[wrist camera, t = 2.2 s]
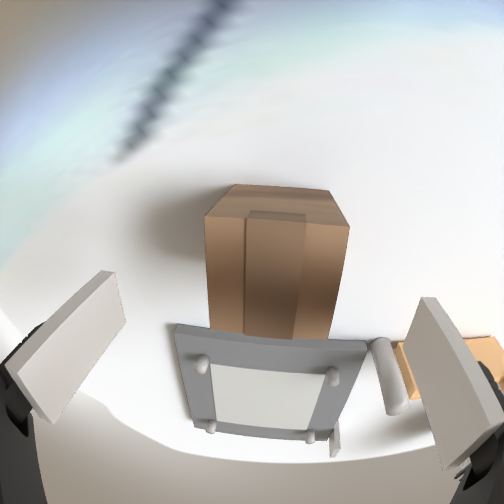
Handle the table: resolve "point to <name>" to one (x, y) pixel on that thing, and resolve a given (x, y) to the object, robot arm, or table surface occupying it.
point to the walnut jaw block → (274, 261)
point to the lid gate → (483, 350)
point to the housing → (278, 383)
